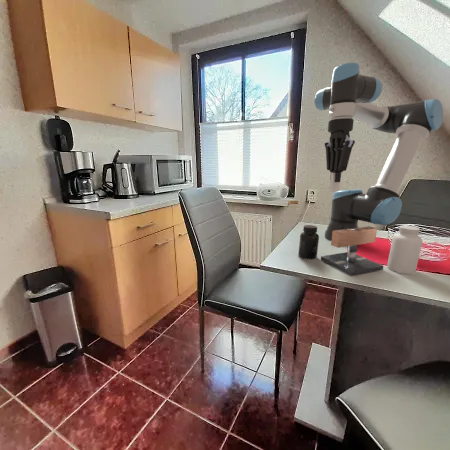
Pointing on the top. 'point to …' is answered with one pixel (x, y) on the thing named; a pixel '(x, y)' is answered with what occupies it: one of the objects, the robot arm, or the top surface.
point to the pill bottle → (405, 250)
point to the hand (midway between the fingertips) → (334, 191)
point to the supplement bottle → (308, 242)
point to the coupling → (353, 237)
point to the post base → (351, 263)
